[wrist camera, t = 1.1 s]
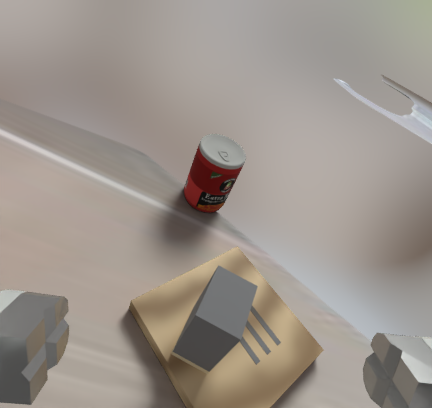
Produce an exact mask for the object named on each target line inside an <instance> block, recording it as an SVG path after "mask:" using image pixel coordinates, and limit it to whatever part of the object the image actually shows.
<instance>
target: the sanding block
mask: <svg viewBox="0 0 432 408" xmlns="http://www.w3.org/2000/svg"><path fill="white" fill-rule="evenodd" d="M257 287H258V286H257V285H255V284H253V283H251V282H249V281H247V280H245V279H243V278H242V277H240V276H238V275H236V274H234V273H232V272H230V271H228V270H227V269H225V268H223V267H221V266H219V265H218V267H217V269H216V270H215V272H214V274H213V275H212V277H211V279H210V280H209V282H208V284H207V285H206V287H205V289H204V290H203V292H202V294H201V295H200V297H199V299H198V300H197V302H196V304H195V305H194V307H193V309H192V311H191V313H190V315H189V317H188V319H187V321H186V323H185V325H184V328H183V330H182V332H181V334H180V336H179V338H178V340H177V342H176V344H175V346H174V348H173V350H172V352H171V354H172V355H173V356H175V357H177V358H179V359H181V360H182V361H184V362H186V363H188V364H190V365H192V366H193V367H195V368H197V369H199V370H201V371H202V372H204V373H206V374H208V373H209V372H210V371H211V370H212V369H213V368H214V367H215V366H216V365H217V364H218V363H219V362H220V361H221V360H222V359H223V358H224V357H225V356H226V355H227V354H228V353H229V352H230V350H231V349H232V348H233V347H234V346H235V345H236V344H237V343H238V342H239V341H240V340H241V338H242V335H243V332H244V329H245V326H246V322H247V319H248V316H249V313H250V310H251V306H252V303H253V300H254V297H255V294H256V290H257Z"/></svg>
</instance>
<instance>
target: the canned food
mask: <svg viewBox="0 0 432 408" xmlns="http://www.w3.org/2000/svg"><path fill="white" fill-rule="evenodd" d="M245 160H246V154H245V152H244V150H243V148H242V147H241V146H240V145H239V144H238V143H237V142H235V141H234V140H232V139H230V138H228V137H225V136H222V135H218V134H209V135H206V136H204V137H203V138H202V139H201V141H200V144H199V146H198V149H197V152H196V155H195V158H194V160H193V163H192V166H191V169H190V173H189V175H188V178H187V181H186V184H185V187H184V195H185V198H186V200H187V202H188V203H189V204H190V205H191V206H192V207H194V208H195V209H197V210H199V211H202V212H209V213H210V212H215V211H217V210H219V209H220V208H221V207H222V206H223V205H224V203H225V201H226V199H227V197H228V195H229V193H230V191H231V189H232V187H233V185H234V183H235V181H236V179H237V177H238V175H239V173H240V171H241V169H242V167H243V165H244V163H245Z"/></svg>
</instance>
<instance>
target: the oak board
mask: <svg viewBox="0 0 432 408" xmlns="http://www.w3.org/2000/svg"><path fill="white" fill-rule="evenodd" d="M218 265H219V266H221V267H223V268H225V269H227V270H228V271H230V272H232V273H234V274H236V275H238V276H240V277H242V278H243V279H245V280H247V281H249V282H251V283H253V284H255V285H257V286H258V287H257V290H256V294H255V297H254V300H253V303H252V306H251V310H250V313H249V316H248V319H247V322H246V326H245V329H244V332H243V335H242V338H241V340H240V341H239V342H238V343H237V344H236V345H235V346H234V347H233V348H232V349H231V350H230V352H229V353H228V354H227V355H226V356H225V357H224V358H223V359H222V360H221V361H220V362H219V363H218V364H217V365H216V366H215V367H214V368H213V369H212V370H211V371H210V372H209V373H208V374H206V373H204V372H202V371H201V370H199V369H197V368H195V367H193V366H192V365H190V364H188V363H186V362H184V361H182V360H181V359H179V358H177V357H175V356H173V355H172V354H171V352H172V350H173V348H174V346H175V344H176V342H177V340H178V338H179V336H180V334H181V332H182V330H183V328H184V325H185V323H186V321H187V319H188V317H189V315H190V313H191V311H192V309H193V307H194V305H195V304H196V302H197V300H198V299H199V297H200V295H201V294H202V292H203V290H204V289H205V287H206V285H207V284H208V282H209V280H210V279H211V277H212V275H213V274H214V272H215V270H216V269H217V267H218ZM129 309H130V311H131V313H132V314H133V316H134V318H135V320H136V321H137V323H138V325H139V327H140V328H141V330H142V332H143V333H144V335H145V337H146V339H147V340H148V342H149V344H150V346H151V347H152V349H153V351H154V352H155V354H156V356H157V358H158V359H159V361H160V363H161V365H162V366H163V368H164V370H165V372H166V373H167V375H168V377H169V378H170V380H171V382H172V384H173V385H174V387H175V389H176V391H177V392H178V394H179V396H180V398H181V399H182V401H183V403H184V404H185V406H186V408H270V407H271V406H272V405H273V404H274V403H275V402H276V401H277V400H278V399H279V397H280V396H281V395H282V394H283V393H284V392H285V391H286V390H287V389H288V388H289V387H290V386H291V385H292V384H293V382H294V381H295V380H296V379H297V378H298V377H299V376H300V375H301V374H302V373H303V372H304V371H305V370H306V369H307V367H308V366H309V365H310V364H311V363H312V362H313V361H314V360H315V359H316V358H317V357H318V356H319V355H320V353H321V352H322V351H323V349H322V347H321V346H320V345H319V344H318V343H317V341H316V340H315V339H314V338H313V337H312V335H311V334H310V333H309V332H308V331H307V329H306V328H305V327H304V326H303V325H302V323H301V322H300V321H299V320H298V318H297V317H296V316H295V315H294V314H293V312H292V311H291V310H290V309H289V308H288V306H287V305H286V304H285V303H284V302H283V300H282V299H281V298H280V297H279V296H278V294H277V293H276V292H275V291H274V290H273V288H272V287H271V286H270V285H269V284H268V282H267V281H266V280H265V279H264V278H263V276H262V275H261V274H260V273H259V272H258V270H257V269H256V268H255V267H254V266H253V264H252V263H251V262H250V261H249V260H248V258H247V257H246V256H245V255H244V254H243V252H242V251H241V250H240V249H239V248H238V246H237V247H235V248H233V249H231V250H229V251H227V252H225V253H224V254H222V255H220V256H218V257H216V258H214V259H212V260H210V261H208V262H206V263H204V264H202V265H200V266H198V267H196V268H194V269H192V270H190V271H188V272H186V273H184V274H182V275H180V276H178V277H177V278H175V279H173V280H171V281H169V282H167V283H165V284H163V285H161V286H159V287H157V288H155V289H153V290H151V291H149V292H147V293H145V294H143V295H141V296H139V297H137V298H135V299H133V300H131V303H130V306H129Z"/></svg>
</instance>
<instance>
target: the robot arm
mask: <svg viewBox="0 0 432 408" xmlns="http://www.w3.org/2000/svg"><path fill="white" fill-rule="evenodd" d="M67 312H68V300H67V299H66V298H65V297H63V296H55V295H48V294H41V293H33V292H24V291H17V290H9V289H7V290H3V291H1V292H0V402H1V403H14V404H28V405H31V404H32V403H33V401H34V400H35V398H36V397H37V395H38V393H39V392H40V390H41V389H42V387H43V386H44V384H45V383H46V381H47V370H49V369H50V368H52V367H54V366H55V365H57V364H58V362H59V360H60V359H61V357H62V356H63V353H64V351H65V348H66V345H67V342H68V336H69V325H68V324H67V322H66V321H65V320H64V316H65V315H66V314H67ZM371 347H372V349H373V351H374V353H372V354H371V355H370V356H369V357H367V358H366V360H365V364H364V367H363V380H364V384H365V388H366V390H367V392H368V394H369V396H370V398H371V399H372V400H373V401H374V402H375V403H376V404H377V405H379V406H380V407H381V408H432V338H430V337H419V336H415V337H411V336H403V335H394V334H384V333H377V334H376V335H375V336H374V337H373V339H372V342H371Z"/></svg>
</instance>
